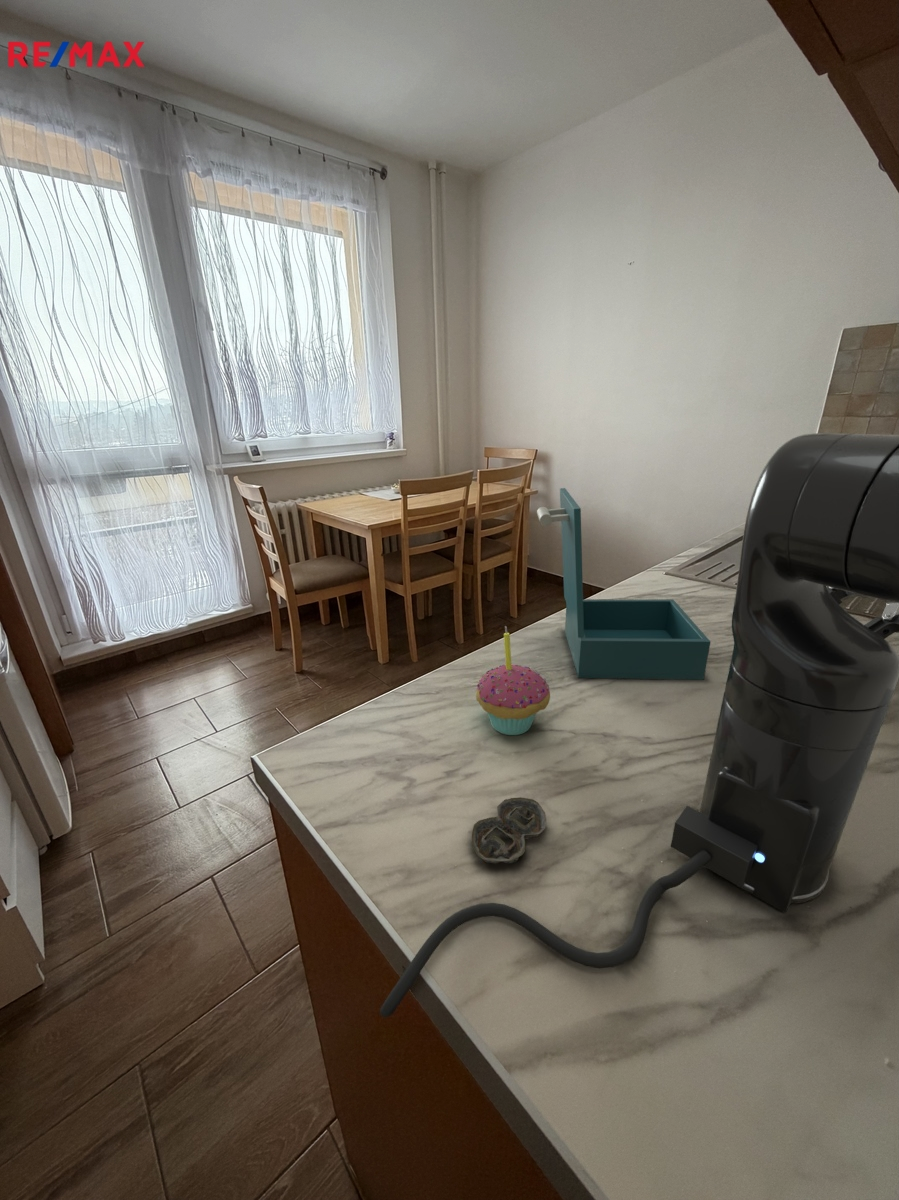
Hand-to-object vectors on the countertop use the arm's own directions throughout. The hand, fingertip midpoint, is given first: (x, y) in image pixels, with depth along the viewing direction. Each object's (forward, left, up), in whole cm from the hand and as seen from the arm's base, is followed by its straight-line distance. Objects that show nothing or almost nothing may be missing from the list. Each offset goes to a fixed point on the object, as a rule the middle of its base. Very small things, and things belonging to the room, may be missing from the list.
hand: (830, 628), depth 60 cm
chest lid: (-13, +28, +7) cm, 32 cm away
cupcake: (-33, +24, -8) cm, 41 cm away
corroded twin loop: (-46, +14, -8) cm, 48 cm away
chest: (-8, +22, -8) cm, 25 cm away
